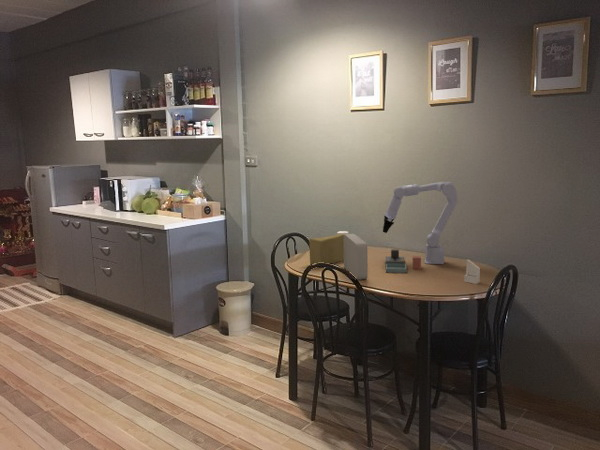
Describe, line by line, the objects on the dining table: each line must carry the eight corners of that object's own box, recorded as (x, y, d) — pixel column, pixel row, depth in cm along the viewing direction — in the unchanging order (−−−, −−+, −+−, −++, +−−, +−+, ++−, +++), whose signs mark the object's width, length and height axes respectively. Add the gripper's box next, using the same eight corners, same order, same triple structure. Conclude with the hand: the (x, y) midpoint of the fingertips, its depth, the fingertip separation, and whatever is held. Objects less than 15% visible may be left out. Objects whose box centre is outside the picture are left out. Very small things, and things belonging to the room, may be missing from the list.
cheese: (339, 258, 288) (339, 232, 285) (351, 261, 280) (351, 234, 277) (309, 264, 275) (308, 237, 272) (320, 268, 267) (319, 240, 265)
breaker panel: (404, 262, 275) (404, 255, 274) (404, 267, 264) (404, 260, 263) (385, 261, 276) (385, 255, 276) (385, 266, 266) (385, 260, 265)
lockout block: (420, 267, 263) (420, 256, 262) (420, 269, 259) (420, 258, 258) (412, 267, 264) (412, 256, 263) (412, 269, 260) (412, 257, 259)
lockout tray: (405, 267, 263) (405, 263, 263) (406, 272, 253) (406, 268, 253) (386, 267, 265) (386, 263, 264) (385, 272, 255) (385, 268, 254)
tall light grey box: (372, 280, 242) (372, 243, 239) (356, 281, 241) (356, 244, 238) (357, 265, 270) (357, 232, 267) (343, 266, 269) (343, 233, 266)
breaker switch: (398, 256, 274) (398, 249, 273) (398, 258, 271) (398, 250, 270) (391, 256, 274) (391, 249, 274) (391, 257, 271) (391, 250, 271)
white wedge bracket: (459, 273, 241) (468, 259, 236) (476, 286, 236) (486, 272, 231) (455, 274, 238) (464, 260, 234) (472, 288, 233) (482, 274, 229)
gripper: (386, 203, 280) (378, 225, 284) (386, 207, 266) (377, 231, 270) (398, 207, 280) (390, 230, 283) (399, 212, 266) (389, 235, 269)
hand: (384, 230), depth 276 cm, fingers open, 7 cm apart
